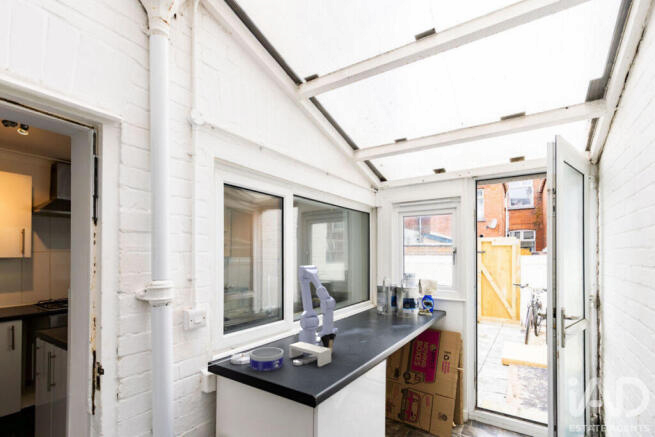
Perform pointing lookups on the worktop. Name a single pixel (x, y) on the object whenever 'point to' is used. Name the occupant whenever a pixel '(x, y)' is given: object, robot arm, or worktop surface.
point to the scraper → (315, 357)
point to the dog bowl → (266, 359)
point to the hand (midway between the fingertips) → (327, 349)
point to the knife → (317, 338)
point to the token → (297, 362)
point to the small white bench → (311, 352)
